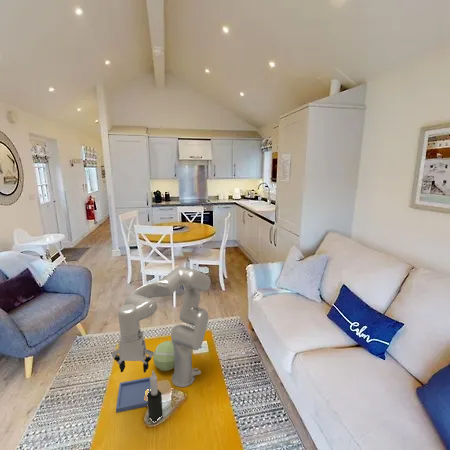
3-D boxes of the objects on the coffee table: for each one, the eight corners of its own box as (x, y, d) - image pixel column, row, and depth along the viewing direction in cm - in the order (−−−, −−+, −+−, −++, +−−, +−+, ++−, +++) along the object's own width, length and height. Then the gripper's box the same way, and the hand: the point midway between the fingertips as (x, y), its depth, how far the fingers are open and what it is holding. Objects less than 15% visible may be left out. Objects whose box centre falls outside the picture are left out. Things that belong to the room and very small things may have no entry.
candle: (156, 410, 125) (154, 364, 120) (163, 416, 122) (161, 370, 117) (147, 417, 122) (144, 371, 116) (154, 424, 118) (151, 377, 113)
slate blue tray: (151, 380, 143) (151, 376, 143) (151, 405, 128) (151, 401, 128) (120, 386, 139) (119, 382, 139) (116, 412, 124) (115, 409, 123)
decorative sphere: (183, 358, 160) (182, 336, 156) (176, 377, 145) (175, 354, 142) (159, 356, 161) (158, 335, 158) (150, 375, 146) (148, 352, 143)
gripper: (154, 328, 110) (157, 363, 114) (113, 328, 110) (117, 363, 115) (148, 340, 103) (152, 377, 107) (105, 340, 103) (110, 376, 107)
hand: (134, 369), depth 111 cm, fingers open, 9 cm apart
